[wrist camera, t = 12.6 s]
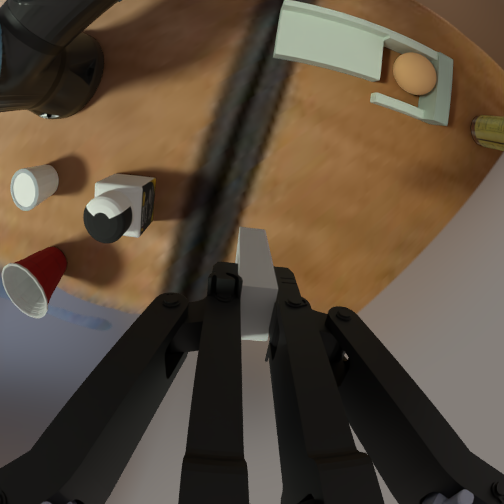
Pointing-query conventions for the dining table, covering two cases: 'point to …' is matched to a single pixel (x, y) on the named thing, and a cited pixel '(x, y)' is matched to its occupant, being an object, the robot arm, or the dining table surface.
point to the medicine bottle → (120, 207)
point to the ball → (414, 73)
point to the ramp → (359, 54)
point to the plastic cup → (34, 280)
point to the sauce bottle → (488, 131)
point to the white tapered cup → (33, 186)
